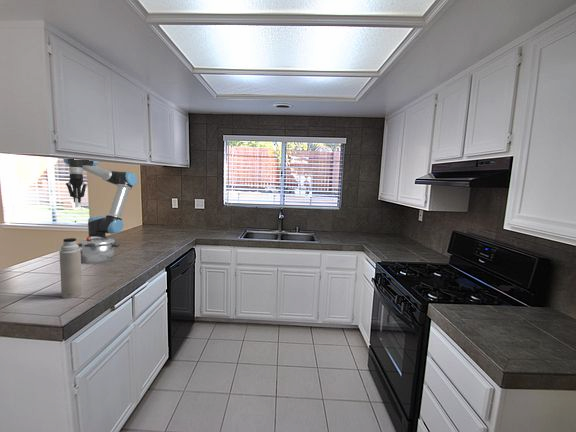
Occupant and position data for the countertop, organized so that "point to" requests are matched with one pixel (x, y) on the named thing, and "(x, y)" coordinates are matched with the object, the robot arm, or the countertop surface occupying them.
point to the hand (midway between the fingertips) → (77, 207)
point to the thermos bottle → (70, 269)
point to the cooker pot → (98, 253)
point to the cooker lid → (97, 241)
